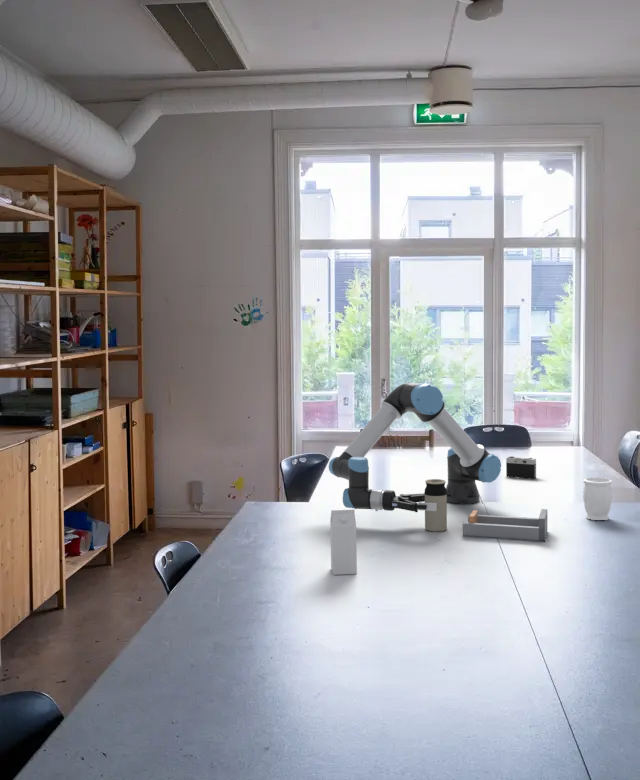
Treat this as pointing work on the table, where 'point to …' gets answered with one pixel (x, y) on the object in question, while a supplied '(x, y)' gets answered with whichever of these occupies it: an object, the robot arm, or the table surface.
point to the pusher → (473, 517)
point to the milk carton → (343, 542)
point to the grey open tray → (508, 527)
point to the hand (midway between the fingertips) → (440, 503)
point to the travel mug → (437, 494)
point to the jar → (597, 498)
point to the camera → (521, 467)
